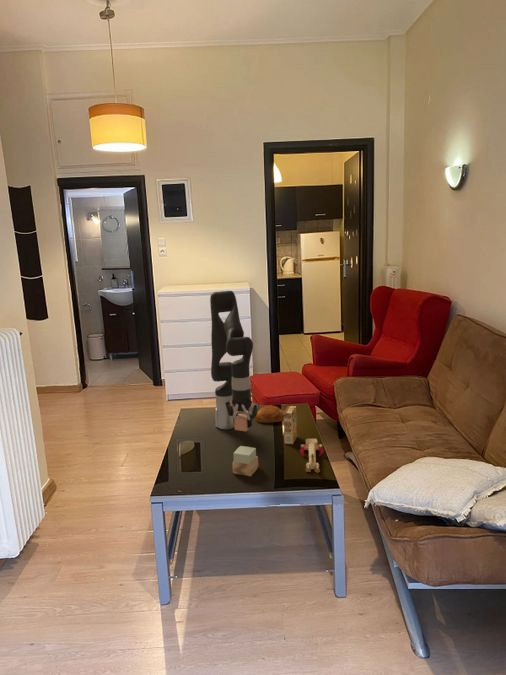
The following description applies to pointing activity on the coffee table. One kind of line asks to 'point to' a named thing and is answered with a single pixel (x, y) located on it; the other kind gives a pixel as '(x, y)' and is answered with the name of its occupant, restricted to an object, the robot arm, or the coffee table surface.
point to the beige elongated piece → (312, 454)
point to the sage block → (244, 455)
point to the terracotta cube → (241, 422)
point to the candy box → (290, 425)
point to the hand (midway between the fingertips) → (243, 426)
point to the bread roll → (269, 414)
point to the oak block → (245, 467)
